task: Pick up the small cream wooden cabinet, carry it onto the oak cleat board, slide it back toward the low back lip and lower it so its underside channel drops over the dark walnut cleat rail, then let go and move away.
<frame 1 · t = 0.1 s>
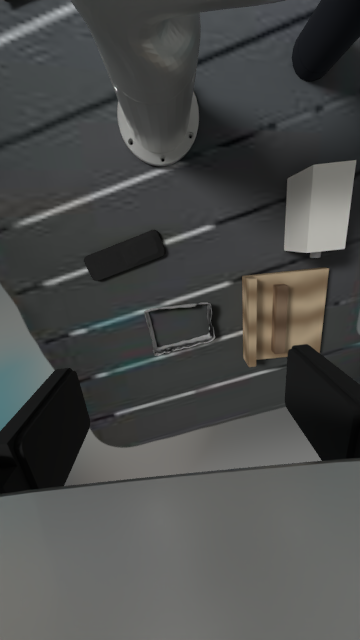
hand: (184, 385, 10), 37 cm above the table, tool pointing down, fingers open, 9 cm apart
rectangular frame: (180, 324, 49), on the table
remote control: (125, 255, 44), on the table
wine bottle: (312, 55, 35), on the table
cleat board: (281, 315, 48), on the table
cabinet: (302, 214, 42), on the table
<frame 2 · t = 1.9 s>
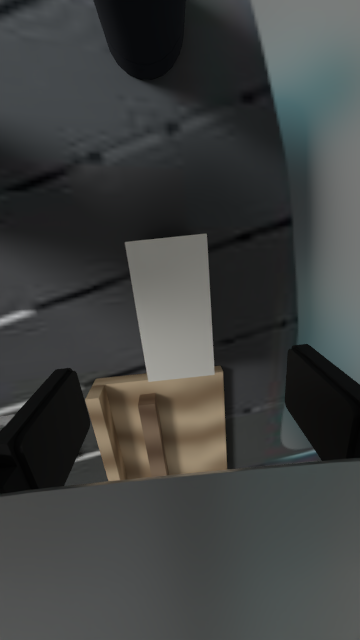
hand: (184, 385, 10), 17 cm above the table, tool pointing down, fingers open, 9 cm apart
wine bottle: (144, 32, 19), on the table
cleat board: (166, 427, 33), on the table
cabinet: (173, 293, 26), on the table
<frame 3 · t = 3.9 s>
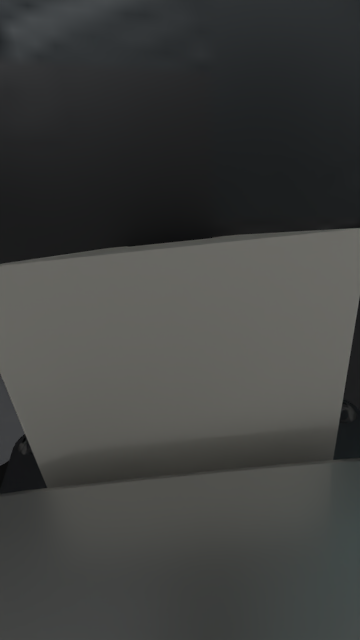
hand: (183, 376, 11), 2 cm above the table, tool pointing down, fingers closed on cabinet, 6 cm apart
cabinet: (182, 355, 13), on the table, touching gripper
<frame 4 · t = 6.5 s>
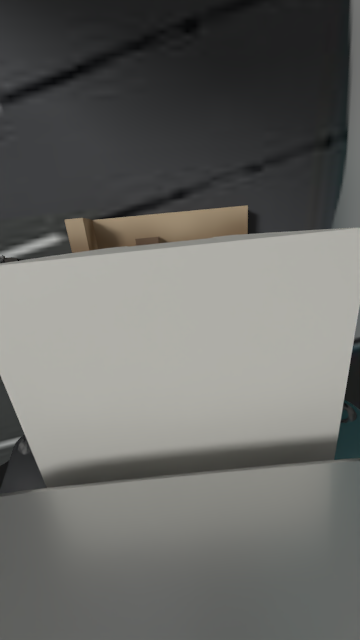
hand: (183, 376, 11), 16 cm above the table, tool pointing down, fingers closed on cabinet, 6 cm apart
cleat board: (171, 302, 26), on the table
cabinet: (182, 355, 13), point 14 cm above the table, touching gripper
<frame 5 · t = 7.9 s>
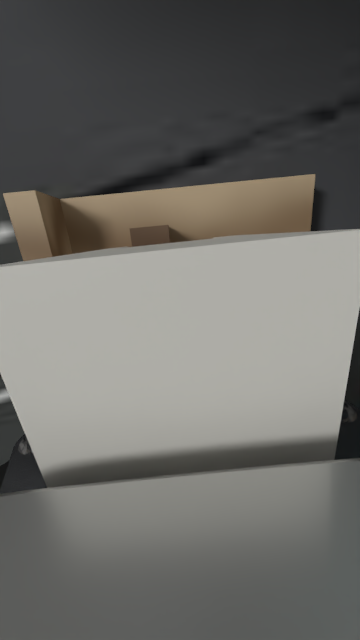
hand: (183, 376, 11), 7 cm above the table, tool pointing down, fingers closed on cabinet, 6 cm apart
cleat board: (185, 326, 18), on the table
cabinet: (182, 355, 13), point 5 cm above the table, touching gripper
when the fingers open (5 cm above the table, at t = 9.1 s): cabinet drops 1 cm, resting on cleat board.
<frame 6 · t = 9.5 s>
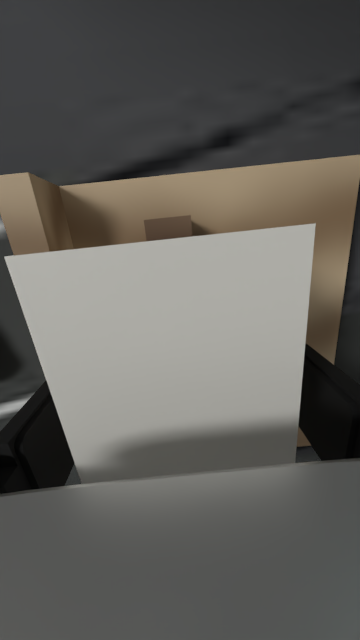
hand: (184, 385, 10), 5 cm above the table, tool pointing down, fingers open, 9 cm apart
cleat board: (203, 334, 15), on the table
cabinet: (179, 344, 14), point 1 cm above the table, touching cleat board
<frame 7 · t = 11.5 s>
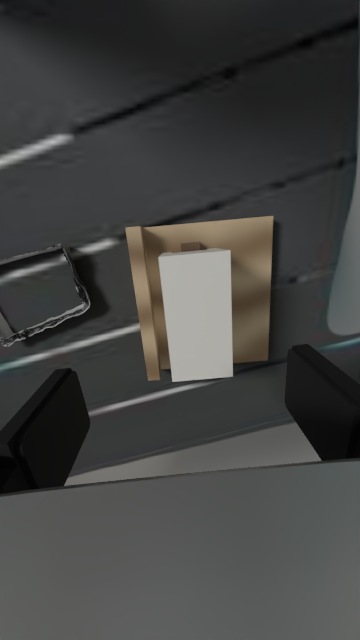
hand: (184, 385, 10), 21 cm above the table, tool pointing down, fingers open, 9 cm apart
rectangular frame: (40, 291, 30), on the table
cleat board: (204, 298, 30), on the table
cabinet: (192, 301, 29), point 1 cm above the table, touching cleat board
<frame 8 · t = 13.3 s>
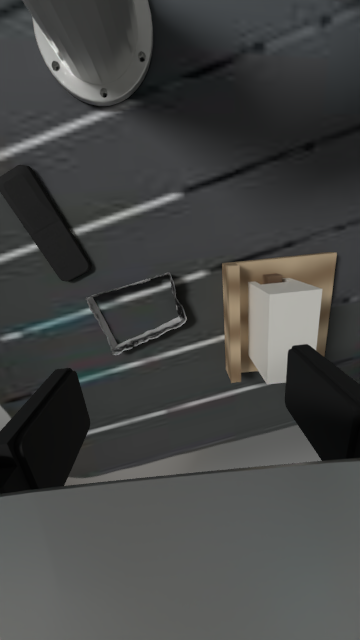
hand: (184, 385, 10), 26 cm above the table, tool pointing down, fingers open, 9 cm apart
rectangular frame: (141, 309, 37), on the table
remote control: (50, 228, 33), on the table
cleat board: (273, 315, 37), on the table
cabinet: (267, 318, 36), point 1 cm above the table, touching cleat board
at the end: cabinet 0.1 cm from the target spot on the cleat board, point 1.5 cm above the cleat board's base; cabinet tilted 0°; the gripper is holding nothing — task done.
